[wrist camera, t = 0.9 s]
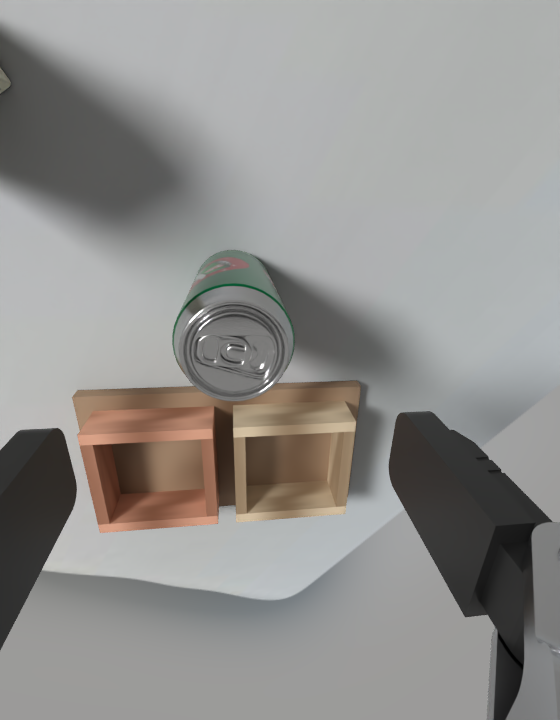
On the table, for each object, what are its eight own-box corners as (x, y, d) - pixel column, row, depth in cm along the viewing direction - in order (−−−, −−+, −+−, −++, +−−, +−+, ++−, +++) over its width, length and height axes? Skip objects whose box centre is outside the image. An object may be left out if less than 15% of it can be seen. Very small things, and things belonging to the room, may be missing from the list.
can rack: (357, 380, 29) (374, 406, 26) (344, 488, 34) (358, 523, 30) (77, 390, 27) (53, 420, 23) (102, 505, 31) (85, 545, 28)
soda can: (263, 327, 27) (284, 416, 16) (192, 316, 26) (163, 402, 15) (277, 256, 25) (311, 301, 14) (200, 242, 24) (174, 278, 13)
